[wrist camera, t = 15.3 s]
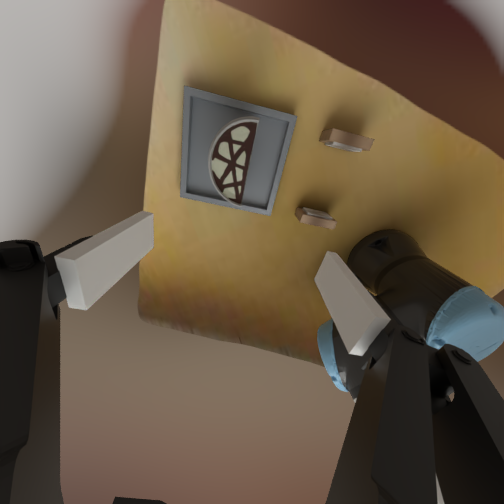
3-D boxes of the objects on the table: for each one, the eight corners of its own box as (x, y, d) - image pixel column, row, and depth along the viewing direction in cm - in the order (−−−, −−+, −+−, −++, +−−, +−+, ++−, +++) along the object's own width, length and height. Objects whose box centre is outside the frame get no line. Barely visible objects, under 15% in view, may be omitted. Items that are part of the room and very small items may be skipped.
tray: (294, 118, 33) (297, 116, 31) (269, 212, 41) (270, 215, 39) (188, 89, 31) (184, 85, 29) (184, 194, 39) (180, 196, 37)
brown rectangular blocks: (358, 140, 35) (374, 139, 30) (325, 220, 42) (333, 229, 37) (322, 130, 34) (333, 128, 29) (294, 214, 41) (300, 222, 37)
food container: (222, 114, 32) (210, 101, 23) (257, 124, 32) (260, 115, 24) (212, 188, 38) (200, 201, 29) (243, 195, 38) (240, 210, 29)
